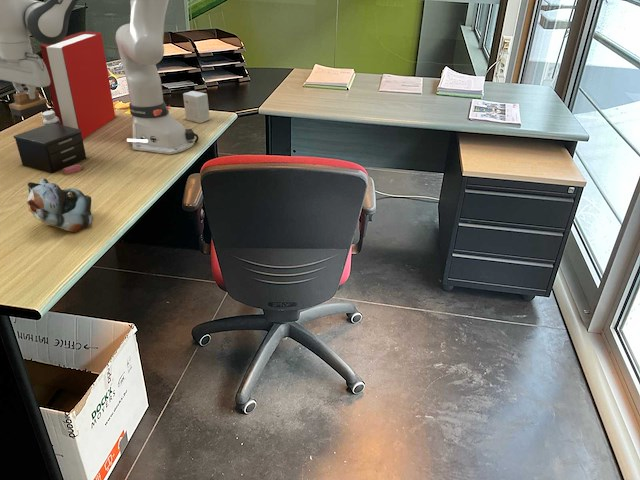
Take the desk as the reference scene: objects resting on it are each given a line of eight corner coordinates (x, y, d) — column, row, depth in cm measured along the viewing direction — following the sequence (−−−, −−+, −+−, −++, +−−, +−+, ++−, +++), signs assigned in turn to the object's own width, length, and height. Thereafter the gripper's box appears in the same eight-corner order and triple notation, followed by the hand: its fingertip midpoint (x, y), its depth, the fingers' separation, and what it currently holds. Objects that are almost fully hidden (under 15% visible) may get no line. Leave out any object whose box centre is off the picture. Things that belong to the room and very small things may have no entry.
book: (81, 139, 193) (62, 46, 177) (60, 137, 194) (39, 45, 178) (117, 116, 217) (102, 32, 200) (98, 114, 218) (82, 31, 201)
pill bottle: (68, 136, 194) (59, 110, 188) (56, 142, 190) (47, 116, 185) (58, 133, 196) (49, 108, 190) (46, 139, 193) (36, 114, 187)
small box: (210, 119, 216) (207, 93, 211) (200, 123, 212) (197, 96, 207) (195, 116, 220) (192, 90, 214) (185, 119, 216) (182, 93, 210)
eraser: (78, 168, 172) (77, 164, 171) (81, 169, 171) (80, 165, 170) (64, 172, 169) (63, 168, 168) (67, 174, 167) (66, 170, 167)
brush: (48, 108, 171) (44, 89, 168) (21, 116, 163) (16, 97, 160) (39, 106, 172) (34, 87, 169) (11, 114, 164) (6, 94, 161)
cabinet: (88, 159, 178) (82, 129, 173) (53, 174, 167) (45, 143, 162) (58, 151, 183) (51, 122, 178) (21, 165, 172) (13, 135, 167)
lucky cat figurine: (92, 232, 137) (54, 197, 126) (51, 249, 138) (10, 216, 128) (97, 193, 147) (62, 157, 136) (59, 209, 148) (21, 175, 138)
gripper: (50, 53, 157) (60, 100, 164) (1, 45, 164) (13, 90, 171) (31, 57, 152) (42, 105, 159) (-18, 48, 160) (-5, 95, 167)
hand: (27, 97), depth 165 cm, fingers closed on brush, 2 cm apart
